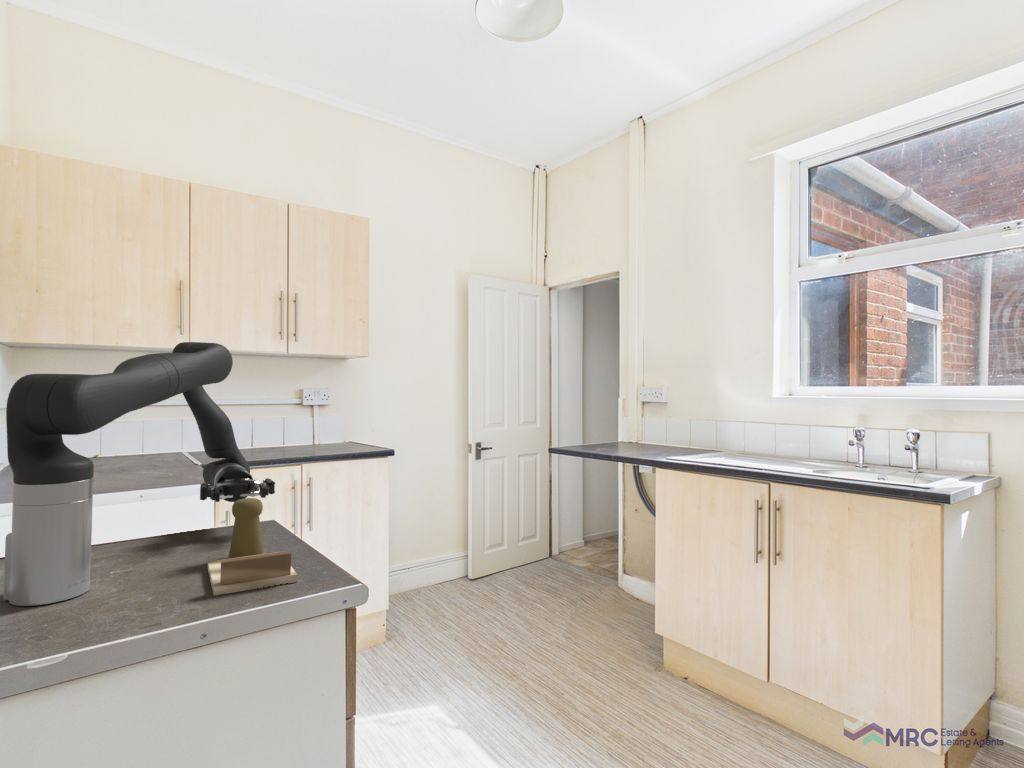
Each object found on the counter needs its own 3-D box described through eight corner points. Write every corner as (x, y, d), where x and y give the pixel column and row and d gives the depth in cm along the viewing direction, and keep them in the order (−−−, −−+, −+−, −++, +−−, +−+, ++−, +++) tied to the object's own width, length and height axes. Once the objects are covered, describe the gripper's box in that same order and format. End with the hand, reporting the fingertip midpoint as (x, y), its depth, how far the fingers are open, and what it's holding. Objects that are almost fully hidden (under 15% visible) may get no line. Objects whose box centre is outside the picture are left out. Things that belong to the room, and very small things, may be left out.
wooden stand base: (207, 568, 94) (208, 541, 95) (281, 558, 101) (281, 532, 101) (213, 595, 82) (214, 564, 82) (297, 582, 88) (297, 553, 88)
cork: (231, 554, 103) (232, 496, 103) (266, 552, 104) (267, 495, 105) (224, 564, 97) (226, 502, 97) (261, 561, 99) (263, 501, 99)
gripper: (197, 468, 120) (201, 479, 107) (267, 464, 128) (279, 473, 114) (197, 501, 120) (201, 517, 107) (266, 495, 128) (278, 509, 114)
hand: (241, 494), depth 111 cm, fingers open, 8 cm apart
